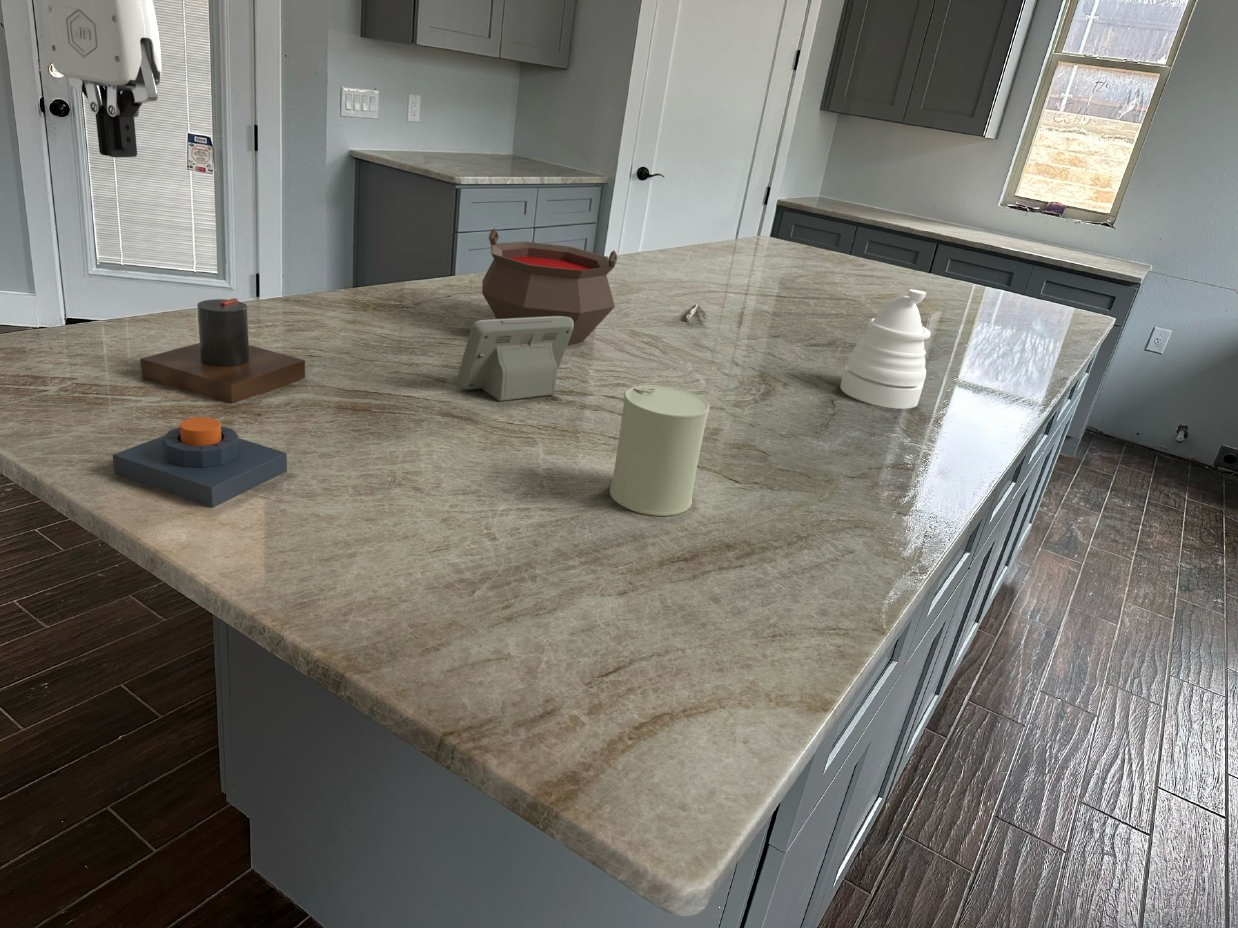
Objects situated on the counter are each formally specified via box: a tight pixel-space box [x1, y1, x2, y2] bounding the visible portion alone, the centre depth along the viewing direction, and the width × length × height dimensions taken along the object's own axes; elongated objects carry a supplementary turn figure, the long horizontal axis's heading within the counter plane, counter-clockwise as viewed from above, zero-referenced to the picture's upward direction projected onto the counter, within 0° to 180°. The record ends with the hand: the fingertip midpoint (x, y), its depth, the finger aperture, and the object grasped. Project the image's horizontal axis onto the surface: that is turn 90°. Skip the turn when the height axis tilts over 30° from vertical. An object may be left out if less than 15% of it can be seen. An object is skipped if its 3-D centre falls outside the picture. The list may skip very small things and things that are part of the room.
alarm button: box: [179, 416, 222, 446], centre depth 83 cm, size 4×4×2 cm
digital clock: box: [456, 316, 574, 402], centre depth 118 cm, size 16×9×11 cm, turn 116°
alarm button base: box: [112, 425, 288, 509], centre depth 84 cm, size 12×10×4 cm
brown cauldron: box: [481, 227, 618, 346], centre depth 145 cm, size 24×24×16 cm
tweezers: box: [685, 302, 710, 326], centre depth 177 cm, size 17×5×2 cm, turn 175°
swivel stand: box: [139, 342, 306, 405], centre depth 109 cm, size 14×13×2 cm
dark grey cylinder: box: [196, 297, 250, 366], centre depth 107 cm, size 6×6×7 cm
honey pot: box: [839, 289, 931, 410], centre depth 138 cm, size 13×13×18 cm
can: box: [609, 384, 710, 517], centre depth 92 cm, size 9×9×12 cm
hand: (118, 155), depth 89 cm, fingers closed
